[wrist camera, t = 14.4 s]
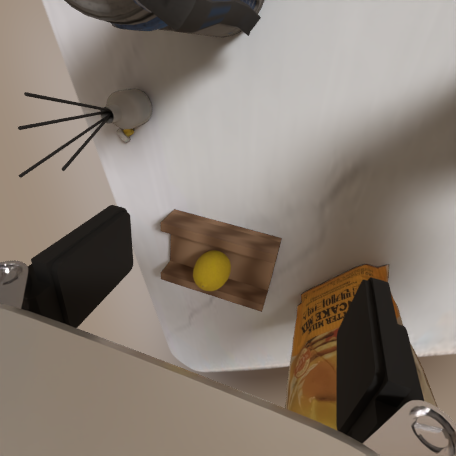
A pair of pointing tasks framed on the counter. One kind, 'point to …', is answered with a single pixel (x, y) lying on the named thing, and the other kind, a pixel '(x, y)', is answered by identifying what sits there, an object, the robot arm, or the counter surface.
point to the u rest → (228, 244)
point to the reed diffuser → (104, 117)
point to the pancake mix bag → (328, 345)
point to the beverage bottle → (176, 15)
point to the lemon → (211, 270)
